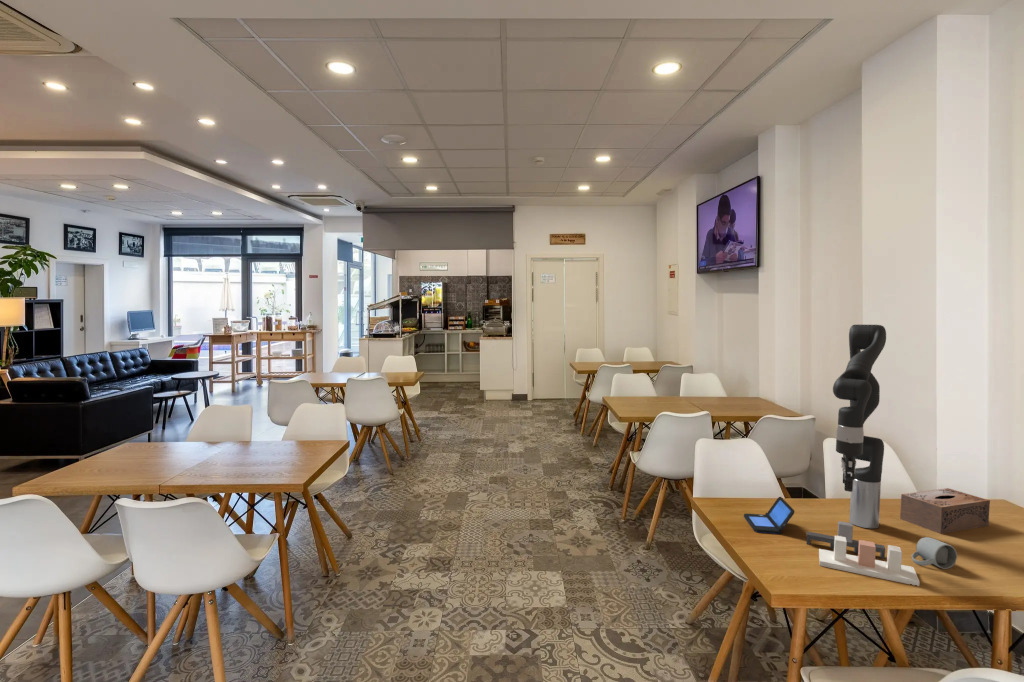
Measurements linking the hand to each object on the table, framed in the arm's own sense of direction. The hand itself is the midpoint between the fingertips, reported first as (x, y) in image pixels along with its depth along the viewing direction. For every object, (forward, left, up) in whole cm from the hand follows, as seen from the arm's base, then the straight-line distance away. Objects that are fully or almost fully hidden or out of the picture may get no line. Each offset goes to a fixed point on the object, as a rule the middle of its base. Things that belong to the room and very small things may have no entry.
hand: (847, 487), depth 176 cm
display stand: (+12, +5, -21) cm, 25 cm away
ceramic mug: (-3, +24, -22) cm, 32 cm away
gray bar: (0, 0, -21) cm, 21 cm away
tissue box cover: (-48, +35, -22) cm, 63 cm away
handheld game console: (-10, -24, -22) cm, 34 cm away
